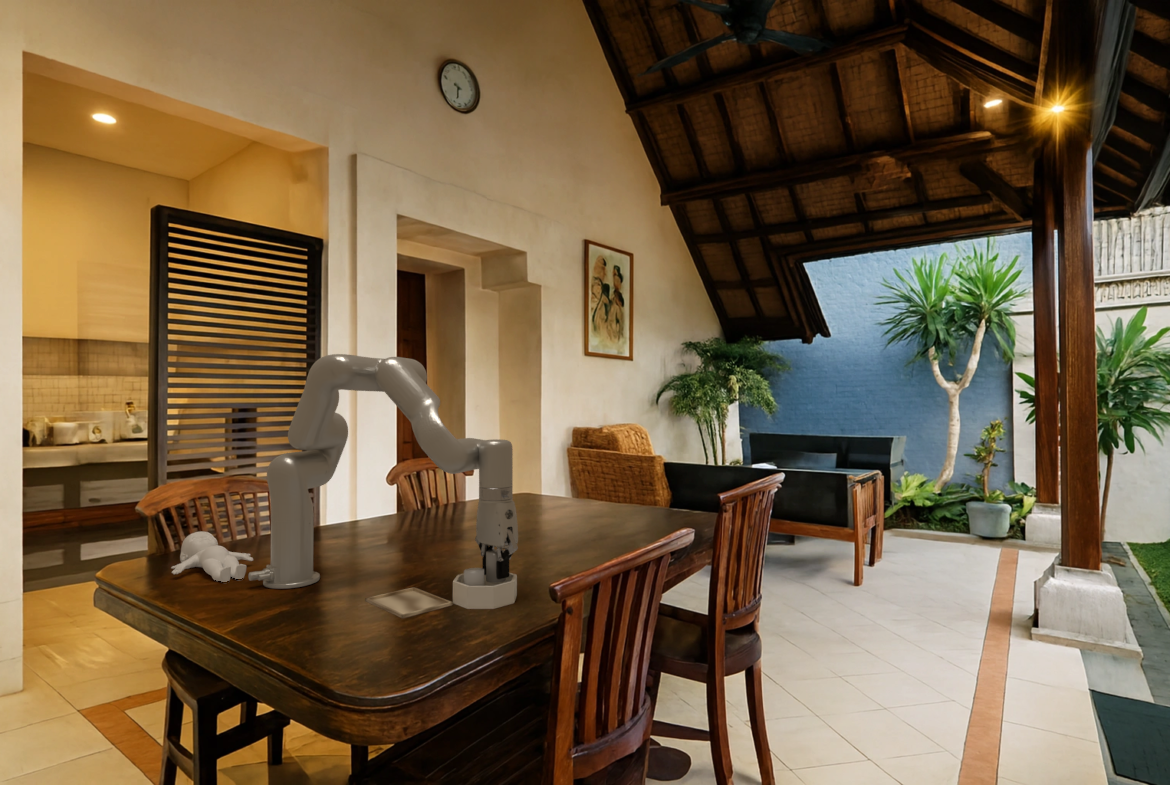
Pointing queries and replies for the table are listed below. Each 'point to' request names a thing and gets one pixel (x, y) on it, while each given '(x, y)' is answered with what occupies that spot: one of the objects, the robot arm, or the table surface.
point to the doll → (211, 557)
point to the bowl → (485, 593)
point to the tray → (408, 602)
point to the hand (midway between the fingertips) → (495, 574)
